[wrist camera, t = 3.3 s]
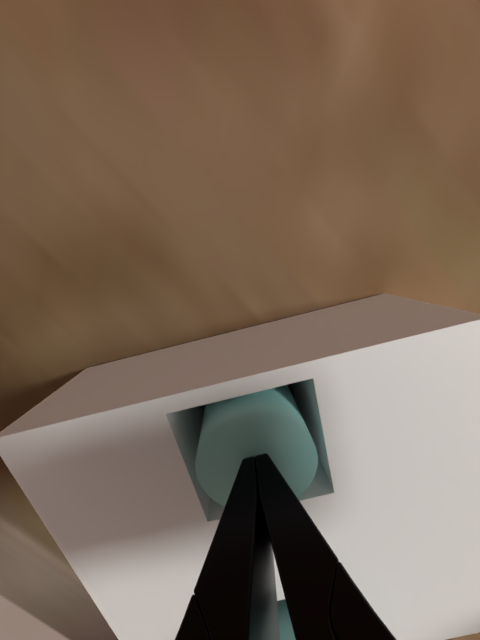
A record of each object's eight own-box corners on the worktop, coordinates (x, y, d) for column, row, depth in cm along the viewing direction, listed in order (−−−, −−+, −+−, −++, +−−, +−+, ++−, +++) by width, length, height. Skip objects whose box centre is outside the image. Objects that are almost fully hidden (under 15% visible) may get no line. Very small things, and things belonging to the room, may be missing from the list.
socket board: (383, 293, 12) (491, 316, 7) (403, 517, 16) (480, 632, 11) (86, 368, 12) (-10, 439, 7) (179, 568, 16) (157, 700, 11)
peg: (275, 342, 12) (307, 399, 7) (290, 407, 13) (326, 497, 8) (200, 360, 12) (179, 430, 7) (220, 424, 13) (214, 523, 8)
